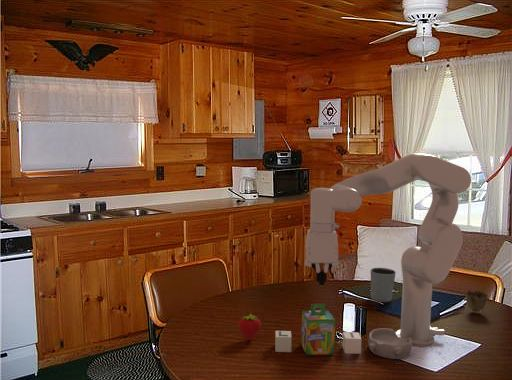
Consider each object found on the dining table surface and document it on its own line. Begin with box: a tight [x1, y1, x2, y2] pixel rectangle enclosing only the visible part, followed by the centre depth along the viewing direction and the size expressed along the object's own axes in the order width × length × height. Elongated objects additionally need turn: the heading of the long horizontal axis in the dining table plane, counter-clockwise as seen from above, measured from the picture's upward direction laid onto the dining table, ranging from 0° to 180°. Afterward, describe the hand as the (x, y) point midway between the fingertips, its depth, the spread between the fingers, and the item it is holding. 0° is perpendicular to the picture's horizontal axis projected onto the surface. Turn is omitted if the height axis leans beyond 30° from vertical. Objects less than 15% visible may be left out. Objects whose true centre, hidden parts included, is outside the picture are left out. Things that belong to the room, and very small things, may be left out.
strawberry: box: [238, 312, 262, 341], centre depth 173 cm, size 6×8×10 cm
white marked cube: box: [274, 330, 293, 353], centre depth 167 cm, size 5×5×5 cm
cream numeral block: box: [342, 331, 362, 355], centre depth 167 cm, size 5×5×5 cm
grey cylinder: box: [370, 267, 397, 303], centre depth 217 cm, size 10×10×12 cm
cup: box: [466, 290, 488, 315], centre depth 201 cm, size 8×7×8 cm
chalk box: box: [300, 303, 336, 356], centre depth 166 cm, size 9×9×15 cm
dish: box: [367, 327, 413, 360], centre depth 167 cm, size 14×14×5 cm
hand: (321, 283), depth 166 cm, fingers closed
